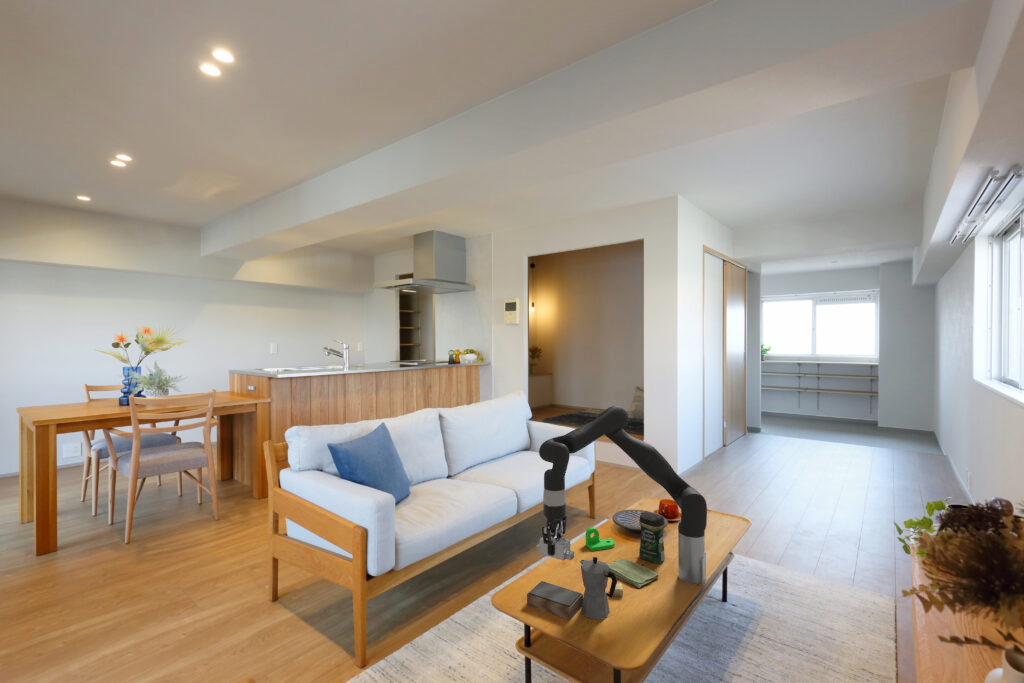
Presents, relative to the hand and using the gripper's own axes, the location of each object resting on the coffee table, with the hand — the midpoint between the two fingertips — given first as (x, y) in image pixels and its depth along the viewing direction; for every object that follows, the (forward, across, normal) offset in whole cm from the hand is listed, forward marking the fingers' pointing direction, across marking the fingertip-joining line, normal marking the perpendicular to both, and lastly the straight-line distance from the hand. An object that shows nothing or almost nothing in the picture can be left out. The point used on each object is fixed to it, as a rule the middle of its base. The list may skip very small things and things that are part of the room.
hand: (554, 551), depth 158 cm
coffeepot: (+19, -3, +14) cm, 23 cm away
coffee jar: (+19, -51, +18) cm, 57 cm away
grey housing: (+1, 0, 0) cm, 1 cm away
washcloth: (+19, -33, +15) cm, 41 cm away
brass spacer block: (+19, -18, +15) cm, 30 cm away
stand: (+18, 0, 0) cm, 18 cm away
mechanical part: (+19, -50, -4) cm, 54 cm away
